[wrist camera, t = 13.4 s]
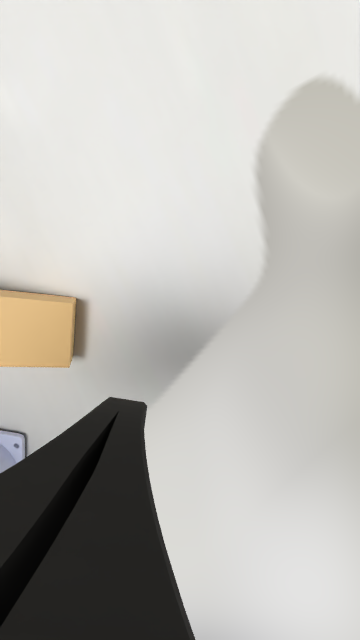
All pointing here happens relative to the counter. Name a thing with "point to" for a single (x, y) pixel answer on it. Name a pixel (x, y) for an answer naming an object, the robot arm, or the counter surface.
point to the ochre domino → (36, 329)
